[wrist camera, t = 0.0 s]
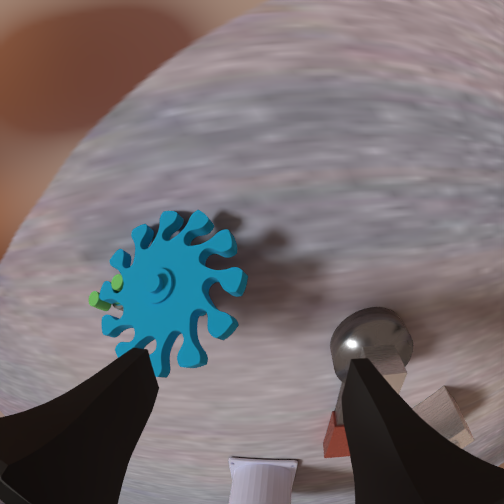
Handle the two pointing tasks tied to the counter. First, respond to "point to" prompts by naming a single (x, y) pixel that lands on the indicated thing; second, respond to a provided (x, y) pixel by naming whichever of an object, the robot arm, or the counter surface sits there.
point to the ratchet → (376, 350)
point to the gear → (170, 290)
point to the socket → (445, 417)
